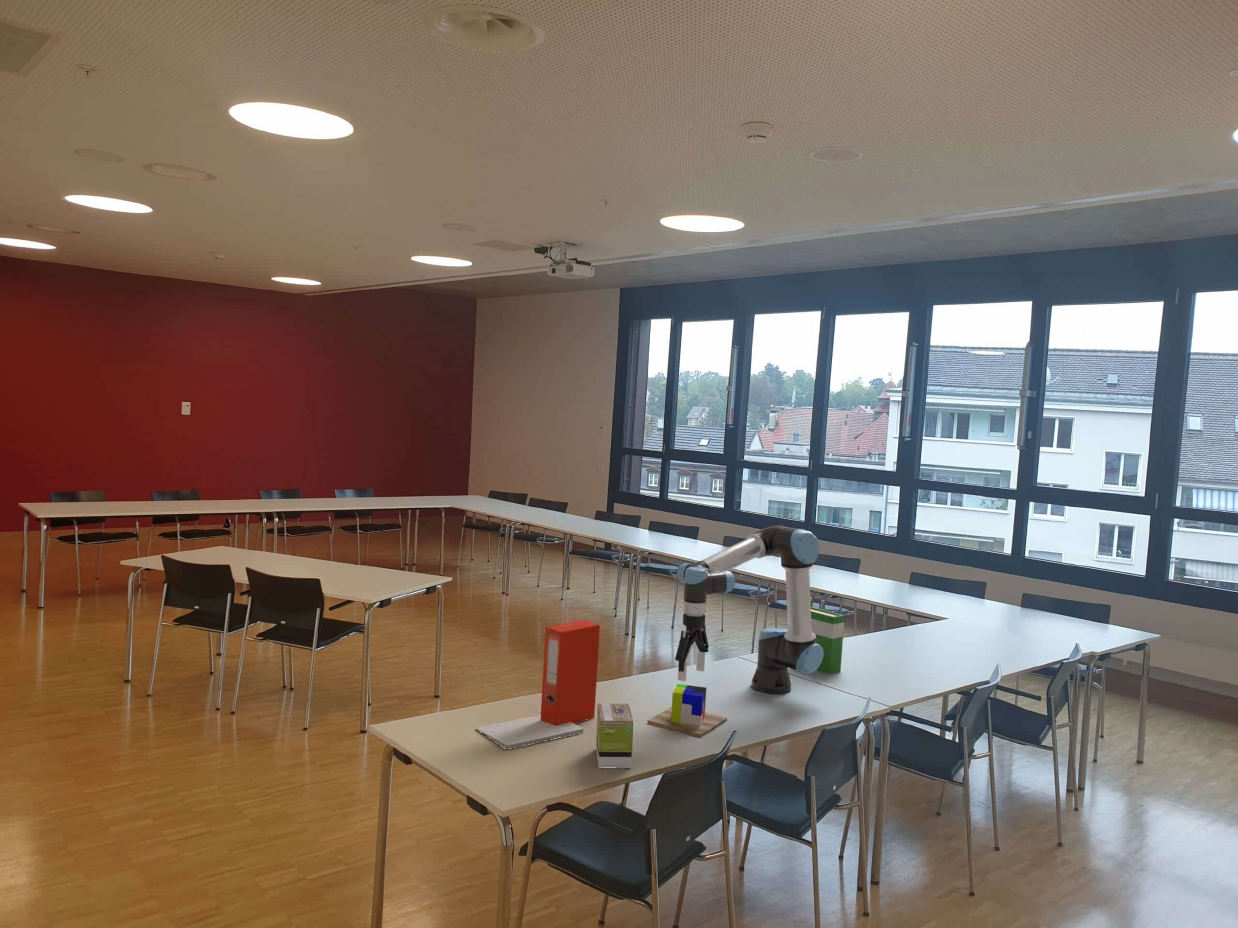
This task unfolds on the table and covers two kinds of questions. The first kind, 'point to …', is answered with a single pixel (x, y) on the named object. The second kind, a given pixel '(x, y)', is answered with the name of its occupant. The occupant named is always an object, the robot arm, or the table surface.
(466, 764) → the table surface
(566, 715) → the file binder
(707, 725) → the walnut board
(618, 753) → the tea box
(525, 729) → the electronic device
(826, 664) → the hardback book
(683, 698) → the puzzle toy
